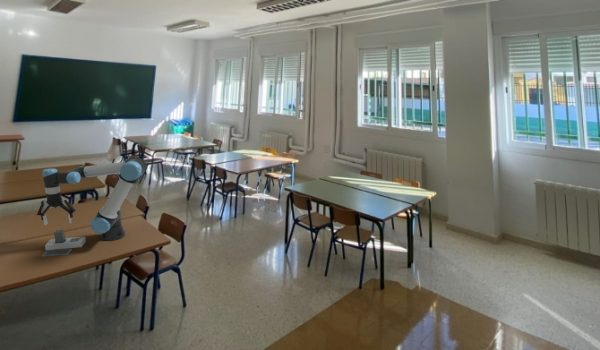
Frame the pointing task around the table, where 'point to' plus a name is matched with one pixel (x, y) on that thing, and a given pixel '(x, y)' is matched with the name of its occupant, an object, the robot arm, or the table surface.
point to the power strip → (66, 243)
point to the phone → (57, 252)
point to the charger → (59, 236)
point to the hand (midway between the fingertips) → (58, 223)
